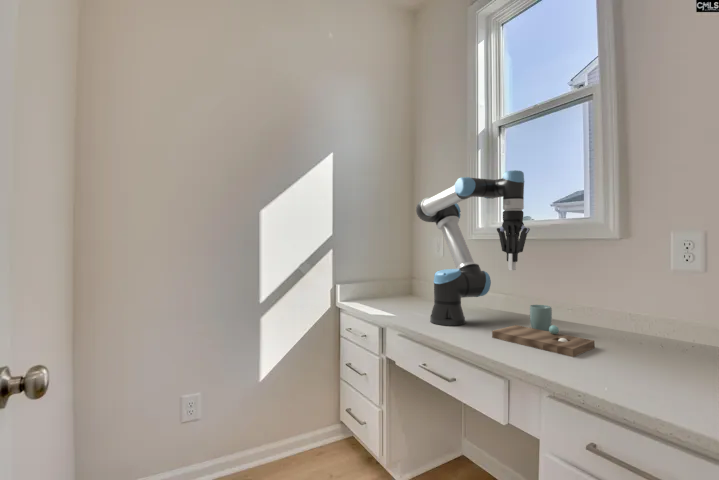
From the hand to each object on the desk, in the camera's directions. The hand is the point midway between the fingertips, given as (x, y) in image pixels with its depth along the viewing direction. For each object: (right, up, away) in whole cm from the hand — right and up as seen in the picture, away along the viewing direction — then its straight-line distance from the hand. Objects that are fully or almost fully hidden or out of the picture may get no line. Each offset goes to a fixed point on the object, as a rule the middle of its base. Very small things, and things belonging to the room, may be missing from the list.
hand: (511, 269), depth 140 cm
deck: (+4, -25, -15) cm, 29 cm away
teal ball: (+9, -20, -13) cm, 26 cm away
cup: (+12, -25, +1) cm, 28 cm away
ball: (+8, -23, -21) cm, 32 cm away
